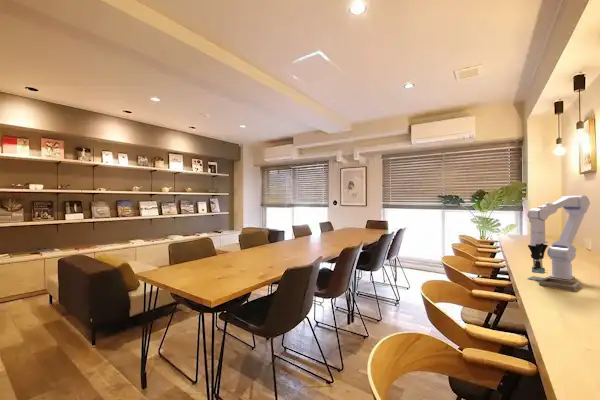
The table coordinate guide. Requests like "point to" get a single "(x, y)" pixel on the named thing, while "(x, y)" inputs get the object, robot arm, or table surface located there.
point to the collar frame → (560, 284)
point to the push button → (538, 265)
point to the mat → (535, 278)
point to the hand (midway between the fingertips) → (538, 259)
